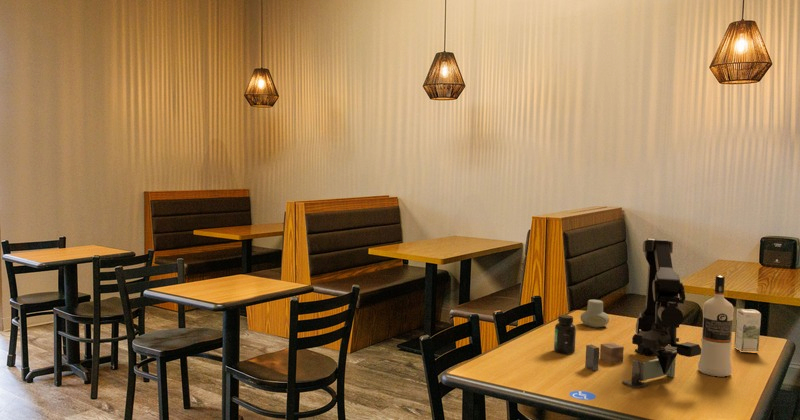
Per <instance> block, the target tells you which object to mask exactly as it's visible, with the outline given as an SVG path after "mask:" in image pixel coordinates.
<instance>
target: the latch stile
mask: <svg viewBox="0 0 800 420" xmlns="http://www.w3.org/2000/svg"><path fill="white" fill-rule="evenodd" d="M599 364H600V347H598V346H596V345H593V344H586V346H585V366H584V367H585V368H586V369H588V370H590V371H593V372H594V371H595V372H596V371H599Z"/></svg>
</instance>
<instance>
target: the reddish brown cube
mask: <svg viewBox="0 0 800 420" xmlns="http://www.w3.org/2000/svg"><path fill="white" fill-rule="evenodd" d="M599 360H600V361H604V362H606V363H609V364H615V363H617V364H618V363H624V346H622V345H620V344H617V343H614V342H610V343H609V342H608V343H601V344H600V347H599Z"/></svg>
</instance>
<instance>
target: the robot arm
mask: <svg viewBox="0 0 800 420" xmlns="http://www.w3.org/2000/svg"><path fill="white" fill-rule="evenodd" d="M673 245H674V243H673V241H671V240H669V239H667V238H649V237H647V239H645V240H644V241H643V243H642V253H644V254H643V255H644V258H645V260H646V262H647V264H648V268H647V278H646V279H647V280H646V281H647V282H646V294H645V305H644V306H643V307H642V308H641V309H640V310H639V316H638V317H637V318H636V324H635V333H634V335H633V336H632V338H631V339H632V340H631V342H632V343H631V344H633V345H637V348H634V351H635V352H637V353H640V354H642V355H645V356H649V357H651V356H656V358H657V359H658V360H659V362H660V365H661V368H662V371H663V374H666V373H667V371H668V370H669V368H670V366H671V364H672V362H673V360H674V359H675V357H676V358H677V356H678V355H679V356H683V357H688V358H692V357H696V356H700V355H701V347H702V346H700V344H698V343H693V342H688V341H686V342H682V343H678V342H680V338H679V337H677V332H678V331H677V329H679V328H680V325H681V324H682V323H683V321H684V315H683V312H682V310H680V308H679V304H682V305H684V303H685V301H686V291H685V287H684V286H685V285H683V282H682V281H681V280H680V275H679V273H677V272H676V271H674V268H673V267H674V266H673V263H672V262H673V261H672V254H673V253H674V252H673V249H674V248H673V247H674V246H673ZM675 360H676V359H675Z"/></svg>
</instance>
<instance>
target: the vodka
mask: <svg viewBox="0 0 800 420" xmlns="http://www.w3.org/2000/svg"><path fill="white" fill-rule="evenodd" d="M725 279H726V277H725V276H723V275H715V278H714V280H715V281H714V282H715V284H714V296H713V297H711V298H709V299H708V300H706V301H704V303H703V306H702V309H703V310H702V333H701V339H700V341H701V346H700V347H701V355H699V360H698V363H697V369H698V370H699V372H700V373H702V374H704V375H706V374H707V376H710V377H715V376H717V377H716V378H725V376H727V377H729V376H730V375H731V374H732V371H733V370H732V369H733V367H732V361H731V352H732V351H731V350H732V345H733V343H732V335H733V334H732V333H733V320H734V313H735V310H734V305H733V304H732V303H731V302H730V301H728V300H727V299H726V298H725V282H726V280H725Z"/></svg>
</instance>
